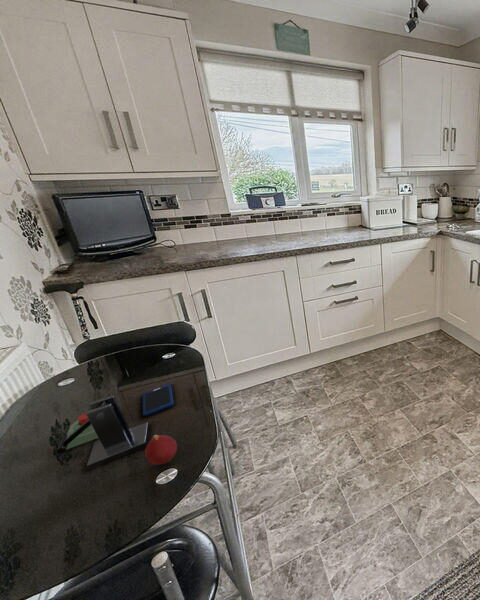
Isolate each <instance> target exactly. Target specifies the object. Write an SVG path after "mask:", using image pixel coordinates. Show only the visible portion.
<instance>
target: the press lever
mask: <svg viewBox="0 0 480 600" xmlns="http://www.w3.org/2000/svg"><path fill="white" fill-rule="evenodd" d="M108 404H109V403H107V402H105V401H104V402H103V403H102V404H100V405H99V406H98V407H97V408H99V407H102V406H105V405H108ZM112 407H113V408H114V406H113V405H112ZM90 425H91V423H90V421H89V419H88V420H87V421H86V422H85V423H84V424H83V425H81V426H80V427H79V428H78V429H77V430H75V431H74V432H73V433H72V434H71V435H67V434H66V435H64V436H62V438H61V440H60V442H59V444H58V447H57V448H56V450H55V452H56V453H57V454H59V455H60V454H63V453H65V452H66V450H67V449H66V448H67V446H68V444H69V443H70V442H71V441H72V440H74V439H75V438H76V437H77V436H78V435H79V434H81V433H82V432H83V431H84V430H85V429H86V428H88V427H89V426H90Z"/></svg>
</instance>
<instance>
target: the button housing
mask: <svg viewBox="0 0 480 600" xmlns="http://www.w3.org/2000/svg"><path fill="white" fill-rule="evenodd" d="M80 426H81V424H80V423H79V421H78V419H77V420H76V421H75V422H74V423H73V424H71V425H70V426H69V428H68V431H67V433H66V435H71V434H72V433H73V432H74V431H75V430H77V429H78V428H79V427H80ZM97 439H99V438H98V436H97V434H96V432H95V430H94V429H93V427H92V425H90V426H89V427H88V428H86V429H85V430H84V431H83V432H82V433H81V434H79V435H78V436H77V437H76V438H75V439H74V440H72V441H71V442H70V443H69V444H68V446H67V448H66V450H69V449H72V448H75V447H77V446H80V445H83V444H86V443H89V442H91V441H94V440H97Z"/></svg>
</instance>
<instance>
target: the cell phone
mask: <svg viewBox="0 0 480 600" xmlns="http://www.w3.org/2000/svg"><path fill="white" fill-rule="evenodd" d="M174 405H175V403H174V396H173V390H172V385H171V384H170V383H167V384H165V385H162V386H159V387H156V388H154V389H151V390H148V391H145V392H143V393H142V415H143V417H148V416H150V415H151V416H152V415H153V414H156V413H158V412H160V411H163V410H166V409H168V408H171V407H173V406H174Z"/></svg>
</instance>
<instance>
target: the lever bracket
mask: <svg viewBox="0 0 480 600" xmlns="http://www.w3.org/2000/svg"><path fill="white" fill-rule="evenodd" d="M104 401H105V402H107V403H109V404H108V405H105V406H102V407H99V408H97V407H98V406H99V405H100V404H102V403H103V402H104ZM112 405H113V406H114V408H113V407H112ZM89 407H90V408H91V409H90V410H87V411H86V412H85V413H86V416H87V417H88V419H89V421H90V423H91V425H92V427H93V429H94V430H95V432H96V434H97V436H98V438H97V439H98V440H96V441H94V443H93V446H92V449H91V451H90V455H89V458H88V461H87V464H86V467H87V468H88V470H91V469H94V468H96V467H99V466H101V465H104V464H107V463H109V462H112V461H114V460H116V459H119V458H121V457H124V456H126V455H129V454H131V453H134V452H136V451H139V450H141V449H144V448H146V447H147V445H148V441H149V433H150V432H149V431H150V424H149V422H144V423H142V424H139V425H137V426H134V427H132V428H130V426H129V424H128V422H127V420H126V417H125V416H124V414H123V412H122V410H121V408H120V405H119V404H118V402H117V400H116V397H115V395H110V396H107V397H104V398H101V399H97V400H95V401H92V402H90V403H89Z"/></svg>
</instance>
